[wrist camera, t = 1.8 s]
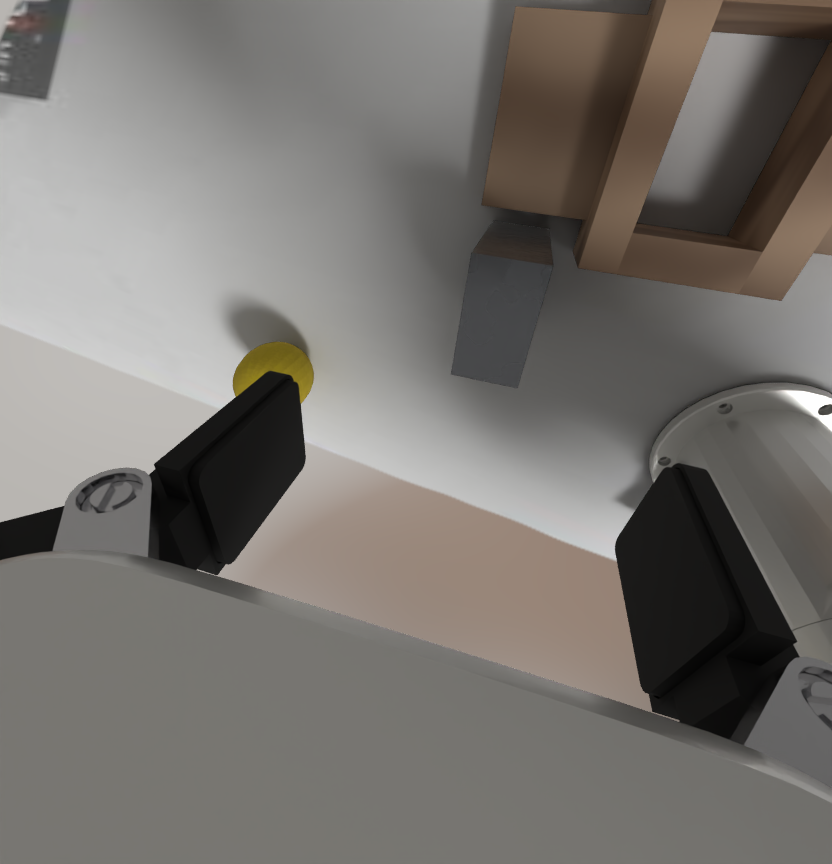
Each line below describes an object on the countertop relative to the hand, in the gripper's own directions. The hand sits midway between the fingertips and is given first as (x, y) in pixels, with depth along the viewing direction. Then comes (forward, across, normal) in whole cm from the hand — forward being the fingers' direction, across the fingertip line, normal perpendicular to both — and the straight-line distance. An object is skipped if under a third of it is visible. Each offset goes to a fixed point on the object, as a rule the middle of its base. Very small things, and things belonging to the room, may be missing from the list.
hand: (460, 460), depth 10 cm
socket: (+20, -9, -8) cm, 23 cm away
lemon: (+21, +16, +10) cm, 28 cm away
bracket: (+20, 0, 0) cm, 20 cm away
